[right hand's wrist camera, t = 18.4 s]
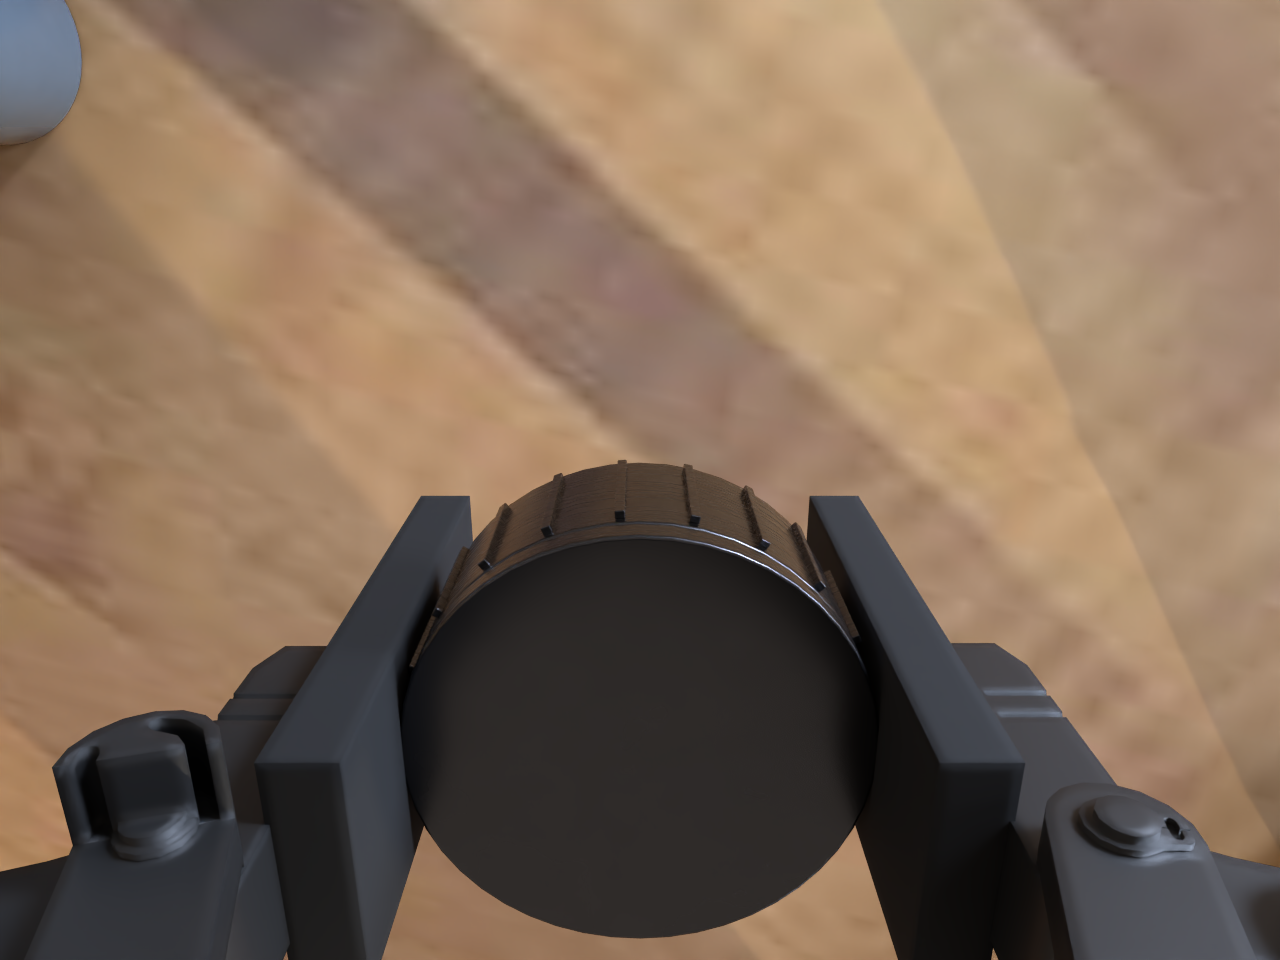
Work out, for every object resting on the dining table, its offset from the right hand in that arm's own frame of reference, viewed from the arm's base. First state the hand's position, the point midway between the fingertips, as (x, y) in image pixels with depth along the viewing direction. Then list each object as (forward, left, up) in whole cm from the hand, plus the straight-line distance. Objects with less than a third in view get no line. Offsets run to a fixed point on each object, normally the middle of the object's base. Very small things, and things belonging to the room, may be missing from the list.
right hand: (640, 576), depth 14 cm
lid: (0, 0, +4) cm, 4 cm away
